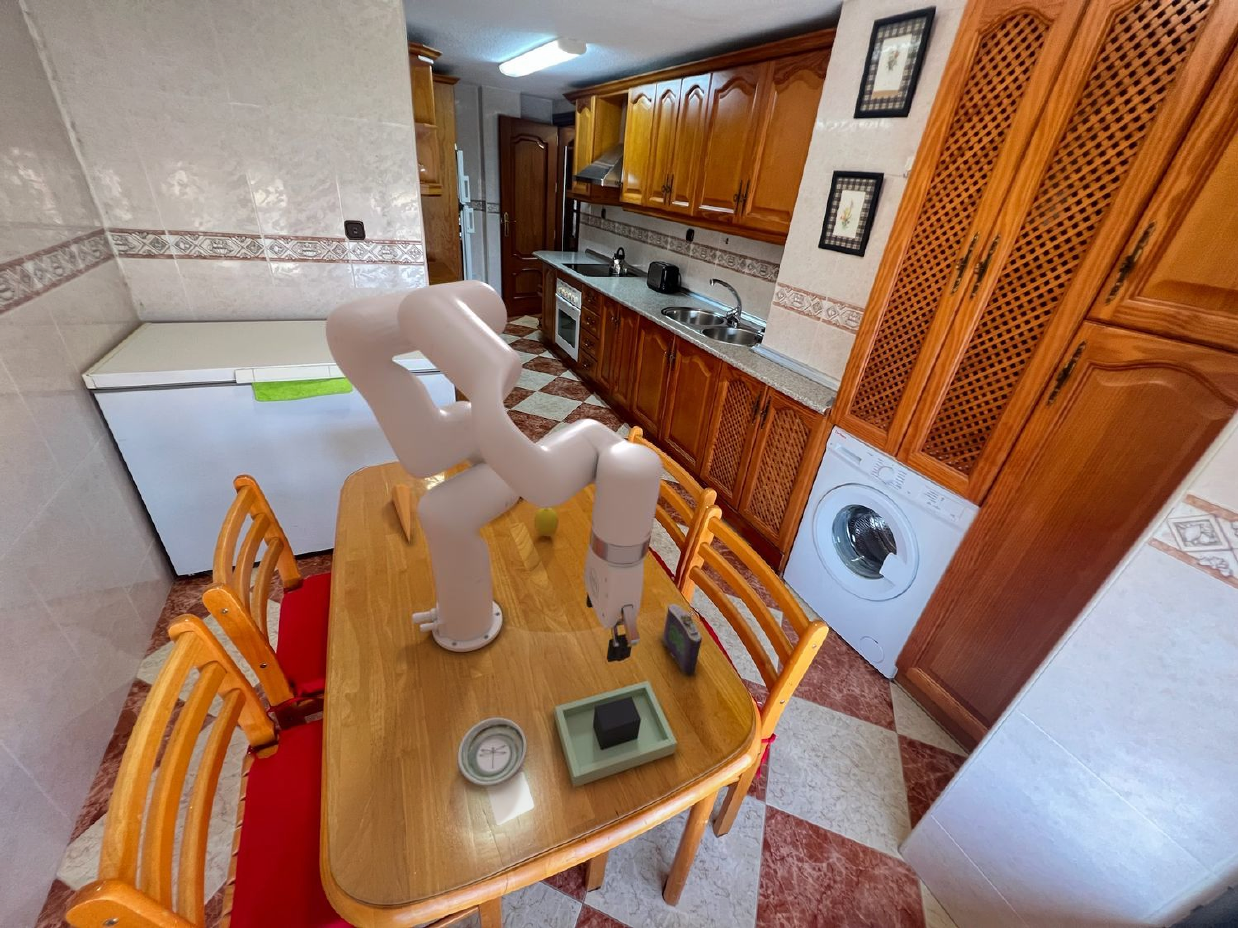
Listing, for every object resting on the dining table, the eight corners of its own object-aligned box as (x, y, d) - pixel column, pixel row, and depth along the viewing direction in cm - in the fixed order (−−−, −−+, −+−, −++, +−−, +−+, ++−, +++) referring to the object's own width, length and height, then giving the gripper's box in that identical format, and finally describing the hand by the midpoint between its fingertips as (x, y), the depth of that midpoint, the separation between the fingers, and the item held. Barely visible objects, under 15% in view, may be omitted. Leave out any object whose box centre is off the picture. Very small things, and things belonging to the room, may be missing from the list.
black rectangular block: (600, 750, 74) (603, 731, 71) (592, 725, 77) (594, 706, 75) (637, 738, 76) (641, 719, 74) (628, 715, 79) (631, 695, 77)
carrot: (396, 497, 126) (386, 486, 123) (412, 489, 126) (403, 478, 123) (405, 553, 112) (394, 541, 108) (424, 543, 112) (413, 532, 109)
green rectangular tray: (573, 787, 70) (574, 777, 69) (554, 717, 79) (554, 706, 77) (674, 753, 75) (677, 742, 74) (646, 690, 84) (648, 680, 83)
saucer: (464, 805, 67) (463, 795, 66) (454, 739, 74) (453, 729, 73) (534, 778, 71) (534, 768, 69) (518, 717, 78) (517, 708, 77)
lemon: (553, 545, 114) (554, 517, 110) (530, 540, 115) (530, 512, 111) (560, 530, 119) (561, 503, 115) (538, 526, 120) (539, 499, 116)
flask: (659, 638, 94) (667, 597, 88) (672, 633, 95) (680, 593, 90) (685, 678, 87) (695, 636, 81) (699, 672, 88) (710, 631, 83)
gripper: (573, 501, 67) (566, 590, 76) (614, 593, 54) (600, 689, 63) (624, 495, 70) (612, 582, 79) (676, 582, 56) (654, 675, 65)
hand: (606, 629), depth 71 cm, fingers open, 9 cm apart
